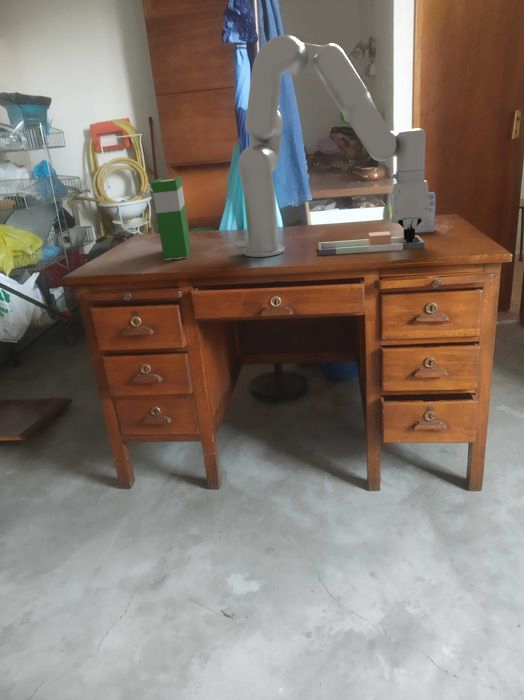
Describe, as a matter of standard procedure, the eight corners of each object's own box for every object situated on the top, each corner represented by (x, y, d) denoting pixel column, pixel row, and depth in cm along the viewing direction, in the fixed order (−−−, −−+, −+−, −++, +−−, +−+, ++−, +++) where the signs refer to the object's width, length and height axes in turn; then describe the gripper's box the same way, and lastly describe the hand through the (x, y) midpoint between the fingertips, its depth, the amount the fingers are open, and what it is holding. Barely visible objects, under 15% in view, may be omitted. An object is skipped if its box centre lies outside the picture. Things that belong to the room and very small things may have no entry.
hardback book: (170, 249, 182) (158, 178, 172) (191, 247, 182) (180, 176, 172) (164, 260, 165) (151, 182, 156) (187, 258, 165) (175, 180, 156)
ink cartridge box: (434, 229, 172) (436, 184, 166) (435, 232, 167) (436, 186, 161) (403, 230, 174) (404, 186, 169) (403, 234, 170) (404, 188, 164)
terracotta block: (370, 249, 151) (370, 236, 150) (368, 246, 156) (368, 232, 154) (391, 248, 151) (391, 234, 149) (388, 244, 155) (388, 231, 154)
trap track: (318, 256, 151) (318, 249, 150) (318, 249, 160) (318, 242, 159) (424, 249, 147) (424, 242, 147) (418, 242, 156) (418, 235, 156)
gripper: (384, 180, 142) (384, 246, 149) (440, 175, 140) (438, 242, 147) (381, 177, 149) (381, 241, 156) (435, 173, 147) (432, 237, 154)
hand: (409, 241), depth 152 cm, fingers closed
